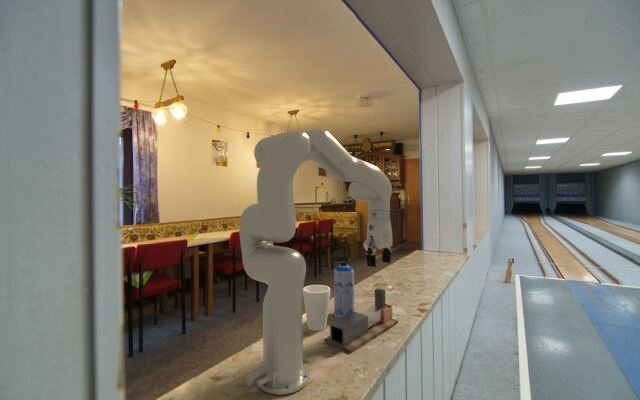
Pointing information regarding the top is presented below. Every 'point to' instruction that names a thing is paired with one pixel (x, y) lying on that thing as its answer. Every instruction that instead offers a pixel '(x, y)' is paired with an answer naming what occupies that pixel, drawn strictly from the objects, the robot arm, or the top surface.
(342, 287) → the aerosol can
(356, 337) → the outer sleeve
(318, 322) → the foam cup
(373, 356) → the top surface
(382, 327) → the track board
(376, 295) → the square sliding rod
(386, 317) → the socket block
